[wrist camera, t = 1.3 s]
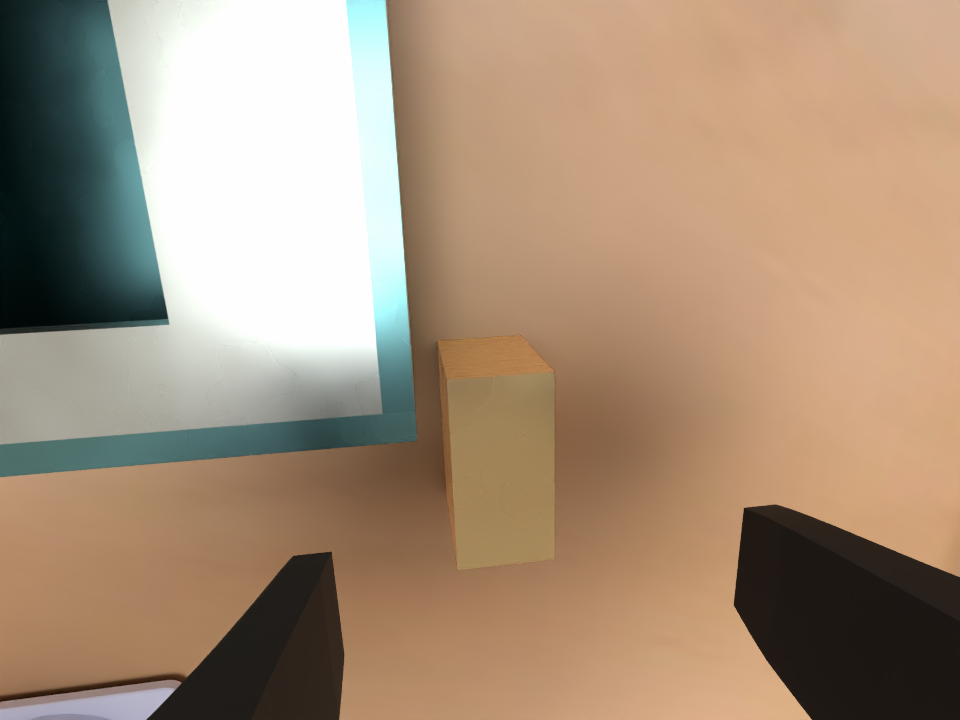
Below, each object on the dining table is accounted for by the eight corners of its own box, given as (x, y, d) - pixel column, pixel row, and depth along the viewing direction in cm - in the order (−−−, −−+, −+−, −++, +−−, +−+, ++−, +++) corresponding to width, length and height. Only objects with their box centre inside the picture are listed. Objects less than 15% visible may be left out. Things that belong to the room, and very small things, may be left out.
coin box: (412, 359, 16) (417, 441, 10) (-36, 390, 15) (-318, 504, 9) (378, -130, 13) (355, -403, 7) (-199, -150, 12) (-798, -510, 6)
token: (522, 484, 18) (555, 559, 14) (445, 492, 18) (457, 570, 14) (520, 334, 16) (554, 372, 13) (437, 340, 16) (446, 379, 12)
